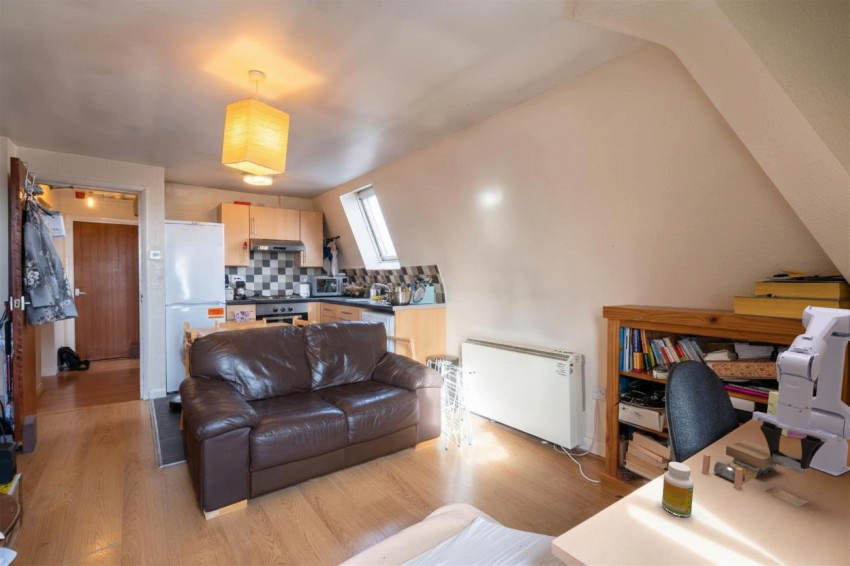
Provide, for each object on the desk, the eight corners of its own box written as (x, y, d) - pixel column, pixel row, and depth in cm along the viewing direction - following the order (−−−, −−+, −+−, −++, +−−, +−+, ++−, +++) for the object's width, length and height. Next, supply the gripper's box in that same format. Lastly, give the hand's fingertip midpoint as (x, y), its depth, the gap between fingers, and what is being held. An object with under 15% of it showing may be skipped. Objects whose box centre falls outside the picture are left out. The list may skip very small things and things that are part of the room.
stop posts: (704, 472, 102) (706, 453, 102) (741, 489, 94) (743, 469, 94) (702, 473, 101) (703, 454, 101) (738, 490, 94) (740, 470, 94)
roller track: (752, 460, 109) (753, 449, 109) (830, 492, 95) (832, 479, 95) (712, 474, 101) (713, 462, 101) (791, 510, 87) (792, 496, 86)
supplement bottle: (691, 521, 82) (695, 475, 81) (661, 511, 84) (664, 467, 84) (690, 508, 86) (694, 464, 86) (662, 499, 89) (665, 457, 89)
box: (807, 439, 125) (811, 403, 124) (786, 437, 126) (790, 401, 125) (784, 426, 135) (787, 392, 134) (765, 424, 136) (768, 390, 135)
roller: (771, 464, 93) (772, 451, 93) (778, 461, 94) (779, 449, 94) (799, 474, 89) (800, 461, 88) (805, 471, 90) (806, 459, 90)
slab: (746, 448, 110) (746, 439, 110) (782, 461, 102) (782, 452, 102) (725, 454, 105) (726, 445, 105) (761, 469, 98) (762, 459, 98)
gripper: (747, 396, 95) (743, 450, 96) (828, 418, 82) (822, 481, 83) (763, 392, 99) (758, 446, 99) (843, 414, 85) (837, 475, 86)
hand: (789, 462), depth 91 cm, fingers closed on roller, 5 cm apart
